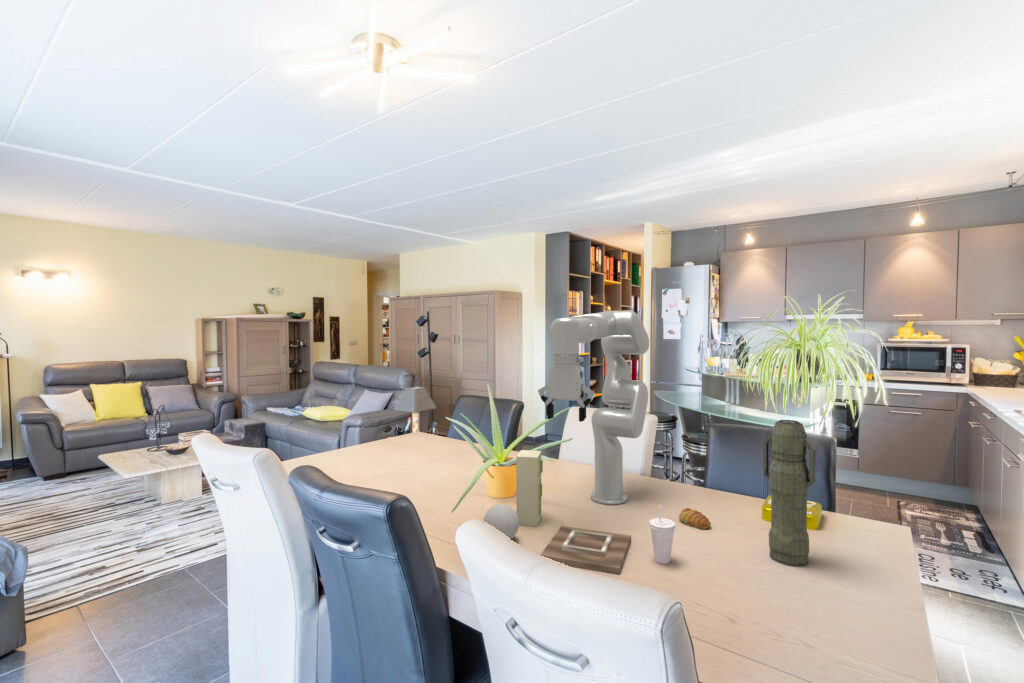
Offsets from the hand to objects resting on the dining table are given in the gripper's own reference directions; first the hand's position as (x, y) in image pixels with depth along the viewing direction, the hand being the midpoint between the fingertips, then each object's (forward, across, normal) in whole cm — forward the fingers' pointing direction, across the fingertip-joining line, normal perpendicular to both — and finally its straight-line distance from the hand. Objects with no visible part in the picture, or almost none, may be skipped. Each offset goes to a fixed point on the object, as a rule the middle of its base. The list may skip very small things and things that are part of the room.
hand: (566, 419), depth 143 cm
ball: (+33, +14, +13) cm, 38 cm away
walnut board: (+33, -10, +9) cm, 35 cm away
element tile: (+33, -59, -40) cm, 78 cm away
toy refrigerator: (+33, +13, -3) cm, 35 cm away
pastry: (+33, -33, -23) cm, 52 cm away
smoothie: (+33, -28, +6) cm, 44 cm away
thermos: (+33, -57, -9) cm, 66 cm away
